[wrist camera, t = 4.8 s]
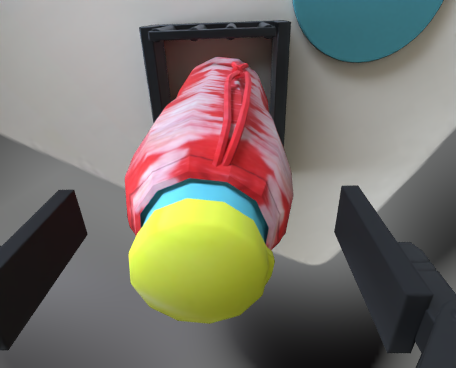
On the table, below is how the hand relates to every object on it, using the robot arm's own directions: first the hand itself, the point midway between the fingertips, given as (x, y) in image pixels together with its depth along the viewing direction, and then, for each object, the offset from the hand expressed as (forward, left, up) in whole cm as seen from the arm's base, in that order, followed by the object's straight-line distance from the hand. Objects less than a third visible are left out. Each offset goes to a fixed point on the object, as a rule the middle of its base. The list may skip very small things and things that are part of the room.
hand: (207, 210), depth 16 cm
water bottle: (0, 0, -19) cm, 19 cm away
